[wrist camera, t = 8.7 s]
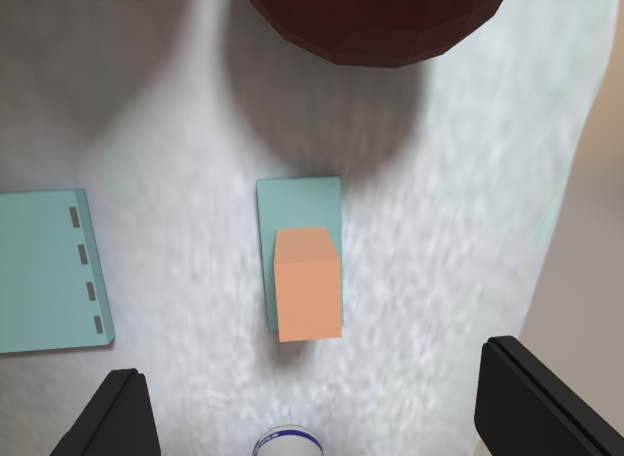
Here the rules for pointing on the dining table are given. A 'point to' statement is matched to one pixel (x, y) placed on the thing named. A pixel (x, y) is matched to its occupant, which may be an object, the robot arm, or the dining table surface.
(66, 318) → the teal plate with bar
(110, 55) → the dining table surface
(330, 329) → the stub
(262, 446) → the energy drink
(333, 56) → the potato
